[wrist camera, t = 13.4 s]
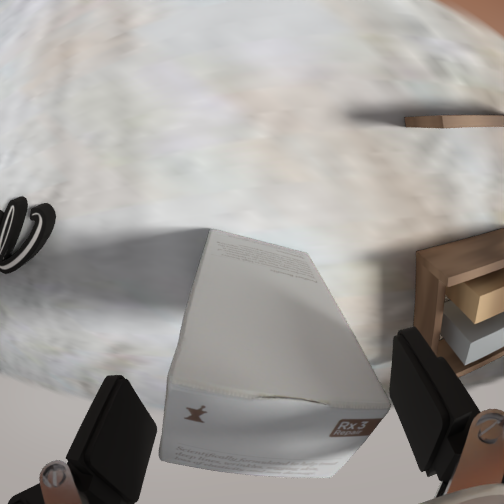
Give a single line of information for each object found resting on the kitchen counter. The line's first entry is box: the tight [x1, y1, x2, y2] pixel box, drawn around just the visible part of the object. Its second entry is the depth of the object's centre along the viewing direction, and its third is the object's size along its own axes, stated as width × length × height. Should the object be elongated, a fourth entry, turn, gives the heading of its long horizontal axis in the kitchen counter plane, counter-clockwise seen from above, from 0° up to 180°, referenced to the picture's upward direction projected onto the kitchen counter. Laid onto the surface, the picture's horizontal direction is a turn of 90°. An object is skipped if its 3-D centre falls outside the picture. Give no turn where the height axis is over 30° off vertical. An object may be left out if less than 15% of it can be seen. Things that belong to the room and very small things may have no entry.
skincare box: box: [159, 229, 391, 478], centre depth 13 cm, size 6×4×12 cm
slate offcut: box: [440, 300, 504, 365], centre depth 18 cm, size 6×2×5 cm, turn 102°
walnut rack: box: [404, 115, 504, 378], centre depth 16 cm, size 10×18×4 cm, turn 12°
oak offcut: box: [445, 268, 504, 324], centre depth 16 cm, size 6×2×5 cm, turn 102°
